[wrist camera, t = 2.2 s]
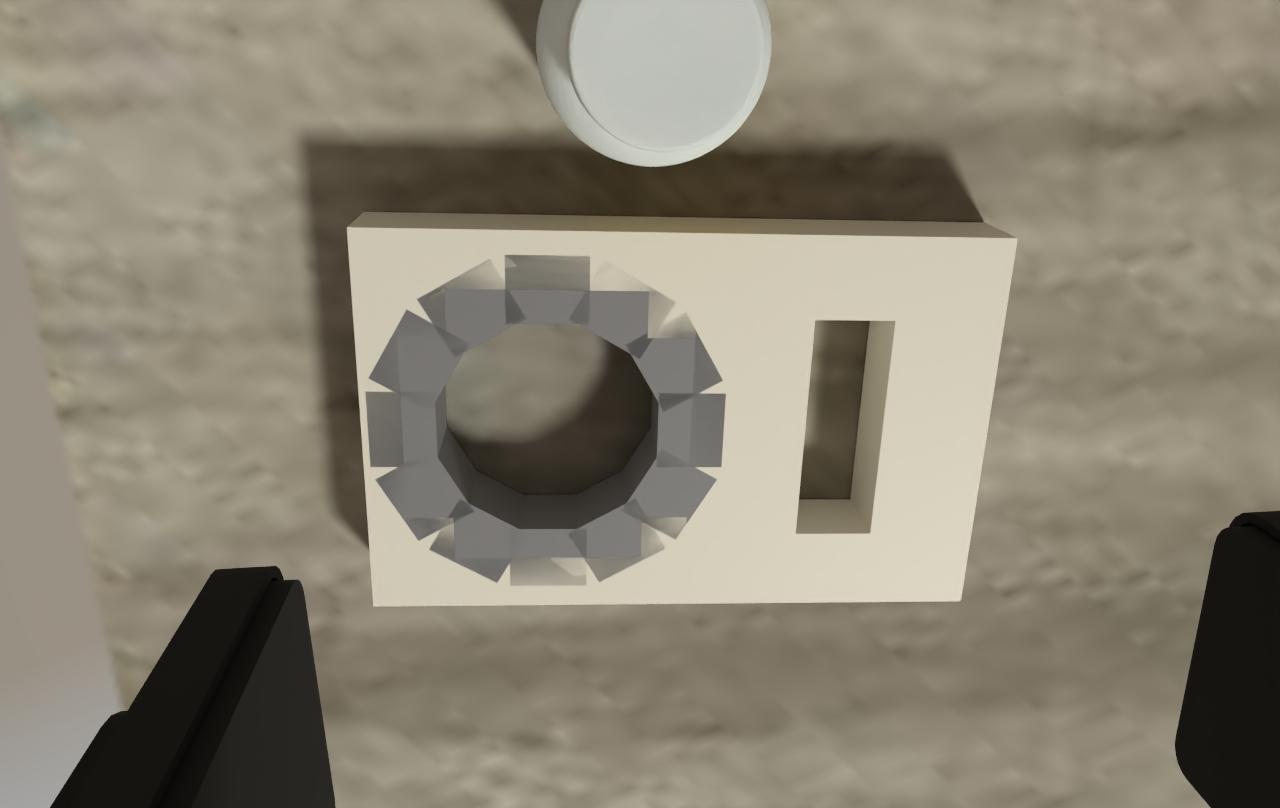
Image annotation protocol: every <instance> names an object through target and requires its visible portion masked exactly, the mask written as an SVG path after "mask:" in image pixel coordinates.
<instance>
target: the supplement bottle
mask: <svg viewBox="0 0 1280 808" xmlns="http://www.w3.org/2000/svg"><path fill="white" fill-rule="evenodd" d="M771 48H772V34H771V24H770V18H769V13H768V9H767V5H766V1H765V0H543V2H542V5H541V9H540V13H539V17H538V24H537V32H536V55H537V63H538V68H539V73H540V77H541V81H542V83H543V86H544V89H545V92H546V94H547V96H548V98H549V100H550V102H551V104H552V106H553V108H554V110H555V111H556V113H557V114H558V116H559V117H560V119H561V120H562V121H563V122H564V124H565V125H566V126H567V127H568V128H569V130H570V131H571V132H572V133H573V134H574V135H575V136H576V137H578V138H579V139H580V140H581V141H582V142H584V143H585V144H586V145H588V146H589V147H591V148H592V149H594V150H595V151H597V152H599V153H601V154H603V155H605V156H607V157H609V158H612V159H614V160H617V161H620V162H624V163H627V164H632V165H638V166H647V167H659V166H669V165H675V164H680V163H684V162H687V161H690V160H693V159H695V158H698V157H700V156H702V155H704V154H706V153H708V152H710V151H712V150H713V149H715V148H716V147H718V146H719V145H721V144H722V143H723V142H725V141H726V140H727V139H728V138H729V137H731V136H732V135H733V134H734V133H735V132H736V131H737V130H738V129H739V127H740V126H741V125H742V124H743V123H744V121H745V120H746V119H747V117H748V116H749V115H750V113H751V111H752V110H753V108H754V107H755V105H756V103H757V101H758V99H759V97H760V95H761V92H762V90H763V87H764V84H765V81H766V79H767V75H768V70H769V65H770V59H771Z"/></svg>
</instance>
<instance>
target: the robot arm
mask: <svg viewBox="0 0 1280 808" xmlns="http://www.w3.org/2000/svg"><path fill="white" fill-rule="evenodd" d="M1175 750H1176V757H1177V760H1178V764H1179V766H1180V769H1181V771H1182V773H1183V774H1184V776H1185V777H1186V779H1187V780H1188V781H1189V782H1190V784H1191V785H1192V786H1193V787H1194V788H1195V790H1196V791H1197V792H1198V793H1199V794H1200V795H1201V797H1202V798H1203V799H1204V800H1205V801H1206V802H1207V804H1208V805H1209V806H1210V807H1211V808H1280V511H1270V512H1252V513H1242V514H1240V515H1238V516H1237V517H1235V519H1234V520H1233V521H1232V523H1231V524H1230V526H1229V528H1225V529H1223V530H1222V531H1221V532H1220V533H1219V535H1218V536H1217V539H1216V541H1215V545H1214V550H1213V555H1212V560H1211V565H1210V570H1209V575H1208V580H1207V585H1206V590H1205V595H1204V600H1203V605H1202V610H1201V615H1200V620H1199V624H1198V629H1197V634H1196V639H1195V644H1194V649H1193V654H1192V659H1191V664H1190V669H1189V674H1188V679H1187V684H1186V689H1185V694H1184V699H1183V704H1182V709H1181V714H1180V719H1179V724H1178V729H1177V734H1176V740H1175ZM50 808H335V798H334V791H333V784H332V778H331V771H330V764H329V758H328V751H327V744H326V737H325V731H324V724H323V717H322V710H321V704H320V697H319V690H318V684H317V677H316V670H315V663H314V657H313V650H312V643H311V636H310V630H309V623H308V616H307V609H306V603H305V596H304V591H303V587H302V585H301V582H300V581H299V580H284V579H283V576H282V574H281V571H280V569H279V568H278V567H277V566H269V567H251V568H232V569H218V570H215V571H214V572H213V573H212V574H211V575H210V577H209V579H208V580H207V582H206V584H205V585H204V587H203V589H202V590H201V592H200V593H199V595H198V597H197V598H196V600H195V602H194V603H193V605H192V606H191V608H190V610H189V611H188V613H187V615H186V616H185V618H184V620H183V621H182V623H181V624H180V626H179V628H178V629H177V631H176V633H175V634H174V636H173V638H172V639H171V641H170V642H169V644H168V646H167V647H166V649H165V651H164V652H163V654H162V656H161V657H160V659H159V660H158V662H157V664H156V665H155V667H154V669H153V670H152V672H151V673H150V675H149V677H148V678H147V680H146V682H145V683H144V685H143V687H142V688H141V690H140V691H139V693H138V695H137V696H136V698H135V700H134V701H133V703H132V705H131V706H130V708H129V709H128V711H121V712H118V713H116V714H113V715H111V716H110V718H108V720H107V721H106V722H105V723H104V725H103V726H102V727H101V728H100V730H99V732H98V733H97V734H96V736H95V738H94V740H93V741H92V742H91V744H90V746H89V747H88V749H87V750H86V752H85V753H84V755H83V757H82V758H81V760H80V761H79V763H78V764H77V766H76V768H75V769H74V771H73V772H72V774H71V775H70V777H69V779H68V780H67V782H66V783H65V785H64V786H63V788H62V790H61V791H60V793H59V794H58V796H57V797H56V799H55V801H54V802H53V804H52V805H51V807H50Z"/></svg>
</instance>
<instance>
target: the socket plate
mask: <svg viewBox="0 0 1280 808" xmlns="http://www.w3.org/2000/svg"><path fill="white" fill-rule="evenodd" d="M347 238H348V252H349V266H350V281H351V295H352V309H353V323H354V337H355V351H356V365H357V380H358V394H359V408H360V422H361V436H362V450H363V464H364V478H365V493H366V507H367V521H368V535H369V549H370V563H371V577H372V592H373V606H476V605H588V604H699V603H810V602H921V601H961V596H962V590H963V584H964V577H965V571H966V564H967V558H968V552H969V545H970V539H971V533H972V526H973V520H974V514H975V507H976V501H977V494H978V488H979V482H980V475H981V469H982V463H983V456H984V450H985V444H986V437H987V431H988V425H989V418H990V412H991V405H992V399H993V393H994V386H995V380H996V374H997V367H998V361H999V355H1000V348H1001V342H1002V335H1003V329H1004V323H1005V316H1006V310H1007V304H1008V297H1009V291H1010V285H1011V278H1012V272H1013V265H1014V259H1015V253H1016V246H1017V240H1018V238H1016V237H1014V236H1012V235H1010V234H1008V233H1006V232H1004V231H1001V230H999V229H997V228H995V227H993V226H991V225H989V224H987V223H982V222H925V221H868V220H810V219H753V218H696V217H638V216H581V215H524V214H466V213H409V212H363V213H362V214H361V215H360V216H359V217H358V218H356V219H355V220H354V221H353V222H352V223H351V224H350V225H349V226H348V227H347ZM815 320H855V321H870V323H869V332H868V341H867V351H866V360H865V369H864V378H863V387H862V396H861V405H860V414H859V423H858V432H857V441H856V451H855V460H854V469H853V478H852V487H851V496H850V499H799V492H800V481H801V470H802V459H803V448H804V437H805V426H806V415H807V404H808V393H809V382H810V371H811V360H812V349H813V338H814V327H815ZM515 324H579V325H581V326H582V327H584V328H586V329H588V330H589V331H591V332H593V333H595V334H596V335H598V336H600V337H602V338H603V339H605V340H607V341H609V342H610V343H612V344H614V345H616V346H617V347H619V348H621V349H623V350H624V351H626V352H628V353H630V354H631V356H632V357H633V359H634V361H635V363H636V364H637V366H638V368H639V370H640V371H641V373H642V375H643V376H644V378H645V380H646V382H647V383H648V385H649V387H650V389H651V390H652V406H651V428H650V429H649V431H648V432H647V434H646V435H645V437H644V439H643V440H642V442H641V443H640V445H639V446H638V448H637V449H636V451H635V452H634V454H633V455H632V457H631V458H630V460H629V461H628V463H627V464H626V466H625V468H624V469H623V470H622V471H620V472H618V473H617V474H615V475H613V476H611V477H609V478H607V479H605V480H603V481H601V482H599V483H597V484H595V485H594V486H592V487H590V488H588V489H586V490H584V491H582V492H580V493H578V494H573V495H523V494H521V493H519V492H517V491H515V490H513V489H511V488H509V487H507V486H505V485H503V484H502V483H500V482H498V481H496V480H494V479H492V478H490V477H488V476H486V475H484V474H482V473H480V472H478V471H476V470H475V468H474V467H473V465H472V464H471V462H470V461H469V459H468V458H467V456H466V455H465V453H464V452H463V450H462V449H461V447H460V446H459V444H458V443H457V441H456V440H455V438H454V437H453V435H452V434H451V432H450V431H449V429H448V428H447V416H446V390H445V384H446V383H447V381H448V379H449V377H450V376H451V374H452V372H453V371H454V369H455V367H456V365H457V364H458V362H459V360H460V359H461V357H462V355H463V353H464V352H466V351H468V350H470V349H471V348H473V347H475V346H477V345H479V344H481V343H482V342H484V341H486V340H488V339H490V338H492V337H493V336H495V335H497V334H499V333H501V332H502V331H504V330H506V329H508V328H510V327H512V326H513V325H515Z"/></svg>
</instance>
